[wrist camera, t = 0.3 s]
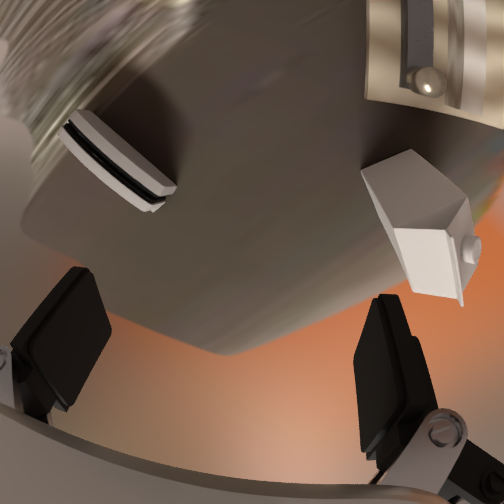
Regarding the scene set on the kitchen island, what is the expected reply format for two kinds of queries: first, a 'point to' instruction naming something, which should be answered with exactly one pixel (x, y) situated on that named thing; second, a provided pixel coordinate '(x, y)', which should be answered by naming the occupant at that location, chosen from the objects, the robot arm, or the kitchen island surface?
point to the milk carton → (425, 223)
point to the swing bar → (419, 50)
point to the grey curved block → (115, 161)
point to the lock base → (443, 58)
